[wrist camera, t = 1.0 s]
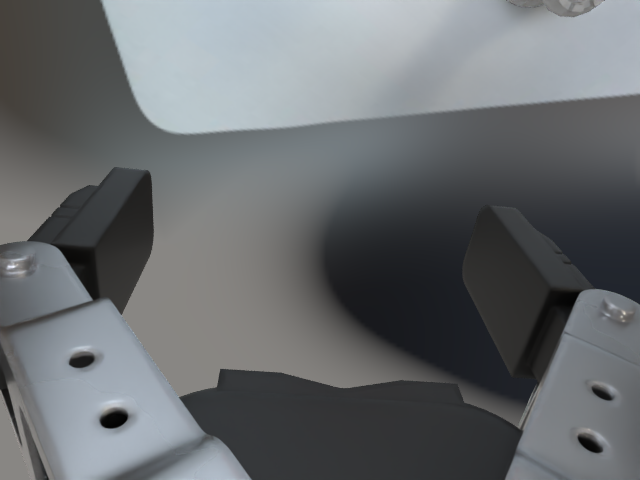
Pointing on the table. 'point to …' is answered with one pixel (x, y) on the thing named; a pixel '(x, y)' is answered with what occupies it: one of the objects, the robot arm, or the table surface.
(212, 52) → the table surface
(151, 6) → the table surface
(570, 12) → the rook chess piece
